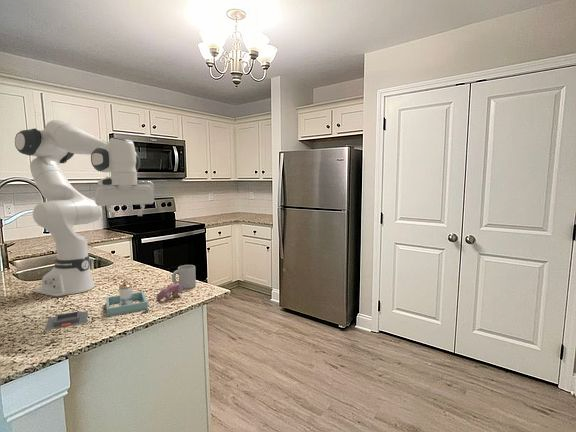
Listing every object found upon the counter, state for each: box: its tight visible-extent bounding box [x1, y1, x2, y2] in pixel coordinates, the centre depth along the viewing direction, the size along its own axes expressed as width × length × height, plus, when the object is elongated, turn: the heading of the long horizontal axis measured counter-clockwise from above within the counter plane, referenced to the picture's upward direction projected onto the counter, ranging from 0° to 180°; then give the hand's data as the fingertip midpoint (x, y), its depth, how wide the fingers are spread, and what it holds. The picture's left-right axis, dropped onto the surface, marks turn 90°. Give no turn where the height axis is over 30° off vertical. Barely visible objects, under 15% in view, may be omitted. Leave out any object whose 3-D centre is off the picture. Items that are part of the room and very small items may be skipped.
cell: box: [118, 282, 134, 306], centre depth 114 cm, size 4×4×9 cm
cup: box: [171, 264, 197, 290], centre depth 140 cm, size 7×10×9 cm
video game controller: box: [156, 283, 184, 301], centre depth 127 cm, size 10×5×7 cm, turn 150°
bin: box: [105, 291, 149, 317], centre depth 115 cm, size 13×13×4 cm
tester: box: [43, 310, 89, 332], centre depth 103 cm, size 11×11×3 cm
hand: (126, 216), depth 122 cm, fingers open, 8 cm apart
